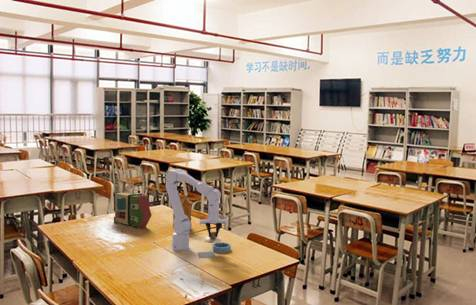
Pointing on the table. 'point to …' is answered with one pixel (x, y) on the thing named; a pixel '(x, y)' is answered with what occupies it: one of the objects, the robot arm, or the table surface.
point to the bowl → (221, 247)
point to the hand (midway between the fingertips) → (213, 236)
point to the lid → (213, 238)
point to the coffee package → (184, 206)
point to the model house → (131, 209)
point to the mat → (206, 254)
